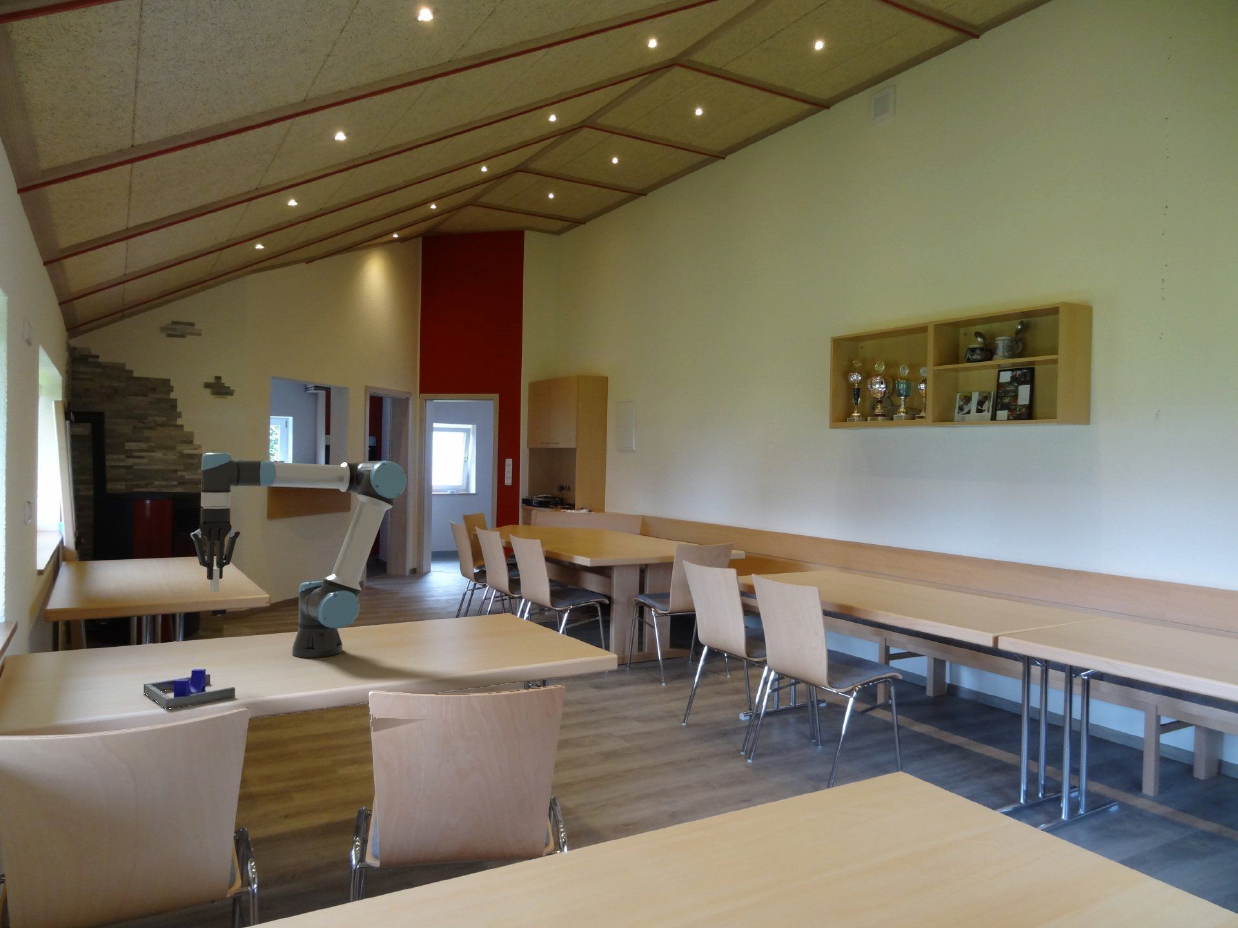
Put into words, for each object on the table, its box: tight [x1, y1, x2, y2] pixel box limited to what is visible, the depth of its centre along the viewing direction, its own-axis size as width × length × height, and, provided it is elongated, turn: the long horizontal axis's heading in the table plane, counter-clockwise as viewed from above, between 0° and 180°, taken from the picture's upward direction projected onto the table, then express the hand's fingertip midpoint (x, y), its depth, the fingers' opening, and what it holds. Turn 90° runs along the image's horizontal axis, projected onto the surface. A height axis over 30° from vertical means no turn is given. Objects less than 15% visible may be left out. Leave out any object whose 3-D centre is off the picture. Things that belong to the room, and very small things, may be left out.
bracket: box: [143, 673, 236, 710], centre depth 213 cm, size 16×19×2 cm
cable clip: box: [173, 668, 207, 697], centre depth 211 cm, size 12×4×6 cm, turn 6°
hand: (214, 590), depth 231 cm, fingers closed
